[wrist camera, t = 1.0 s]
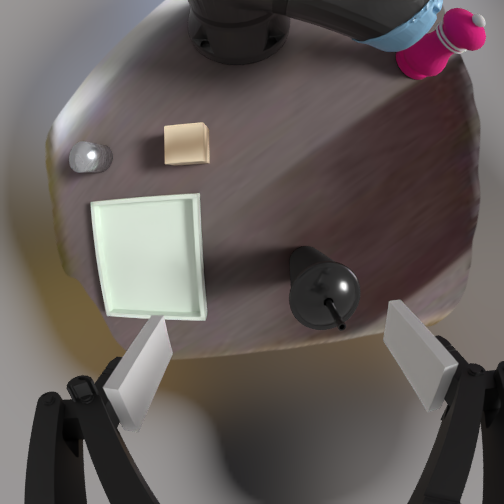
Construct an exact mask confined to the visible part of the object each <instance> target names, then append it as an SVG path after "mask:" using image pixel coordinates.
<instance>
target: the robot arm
mask: <svg viewBox="0 0 504 504" xmlns="http://www.w3.org/2000/svg"><path fill="white" fill-rule="evenodd" d="M188 2H189V4H190V7H191V9H190V13H189V18H188V33H189V36H190V38H191V40H192V42H193V44H194V46H195V47H196V48H197V50H198V51H199V52H200V53H202V54H203V55H204V56H206V57H207V58H209V59H211V60H214V61H216V62H220V63H224V64H232V65H241V64H249V63H254V62H257V61H260V60H263V59H265V58H267V57H269V56H271V55H272V54H274V53H275V52H276V51H278V50H279V49H280V48H281V46H282V45H283V44H284V42H285V41H286V39H287V36H288V33H289V28H290V18H294V19H297V20H301V21H304V22H308V23H311V24H314V25H317V26H320V27H323V28H326V29H329V30H332V31H335V32H337V33H340V34H343V35H345V36H348V37H350V38H352V40H354V41H356V42H358V43H364V44H368V45H370V46H373V47H375V48H377V49H380V50H382V51H386V52H399V51H402V50H405V49H407V48H409V47H411V46H412V45H414V44H415V43H416V42H418V41H419V40H420V39H421V38H422V37H423V36H424V35H425V34H426V33H427V32H428V31H429V30H430V28H431V27H432V26H433V24H434V23H435V21H436V19H437V17H436V14H437V13H438V12H439V11H440V10H441V7H442V4H443V0H188ZM383 341H384V342H385V344H386V346H387V347H388V349H389V350H390V352H391V353H392V355H393V356H394V358H395V360H396V361H397V363H398V364H399V366H400V368H401V369H402V371H403V372H404V374H405V376H406V377H407V379H408V381H409V382H410V384H411V385H412V387H413V389H414V390H415V392H416V394H417V395H418V397H419V399H420V400H421V402H422V404H423V406H424V407H425V409H426V410H427V412H431V411H434V410H437V409H440V408H441V406H442V403H443V401H444V399H445V401H446V402H447V404H448V405H447V407H446V409H445V411H444V414H443V415H442V418H441V420H442V422H441V426H440V428H439V432H438V434H437V438H436V440H435V443H434V445H433V448H432V451H431V453H430V456H429V458H428V461H427V463H426V466H425V468H424V470H423V473H422V475H421V478H420V479H419V482H418V484H417V486H416V488H415V490H414V492H413V494H412V496H411V498H410V500H409V502H408V504H460V499H461V496H462V493H463V490H464V488H465V484H466V481H467V478H468V475H469V471H470V468H471V464H472V460H473V456H474V452H475V448H476V443H477V438H478V433H479V428H480V423H481V431H482V444H483V472H484V473H483V501H482V504H504V361H502V362H500V363H499V364H498V367H497V369H496V370H492V371H485V369H484V368H483V367H482V366H480V365H478V364H472V363H470V364H468V363H467V361H466V360H465V359H464V358H463V357H462V356H461V355H460V354H459V352H458V351H456V350H455V348H454V347H453V346H451V344H450V343H449V342H448V341H447V340H446V339H445V338H443V337H441V336H434V335H433V334H432V333H431V332H430V331H429V330H428V329H427V327H426V326H425V325H424V324H423V323H422V322H421V321H420V320H419V319H418V318H417V317H416V316H415V315H414V314H413V313H412V311H411V310H410V309H409V308H408V307H407V306H406V305H405V304H404V303H403V302H402V301H401V300H394V301H389V305H388V313H387V320H386V326H385V333H384V339H383ZM172 354H173V353H172V349H171V345H170V341H169V337H168V333H167V328H166V324H165V319H164V315H151V317H150V318H149V320H148V321H147V323H146V324H145V325H144V327H143V328H142V330H141V331H140V333H139V334H138V336H137V337H136V338H135V340H134V341H133V343H132V344H131V346H130V347H129V349H128V350H127V352H126V353H125V355H124V356H123V357H116V358H115V359H113V360H112V361H110V362H109V364H108V365H107V367H106V369H105V370H104V371H103V372H102V374H101V375H100V377H99V378H98V380H97V381H96V382H95V384H94V382H93V380H92V378H91V377H89V376H84V375H82V376H77V377H75V378H73V379H72V380H70V381H69V382H68V384H67V390H68V392H69V394H70V396H71V398H72V399H70V400H62V398H61V397H60V395H59V394H58V393H56V392H47V393H45V394H43V395H42V396H41V397H40V398H39V399H38V402H37V406H36V411H35V416H34V421H33V426H32V432H31V438H30V445H29V452H28V460H27V469H26V482H25V504H87V499H86V490H85V479H84V478H85V477H84V460H83V439H85V442H86V444H87V448H88V450H89V453H90V456H91V459H92V462H93V464H94V467H95V469H96V472H97V474H98V477H99V479H100V481H101V484H102V486H103V488H104V491H105V493H106V495H107V497H108V499H109V502H110V504H160V503H159V502H158V500H157V499H156V497H155V496H154V494H153V492H152V491H151V490H150V488H149V486H148V484H147V483H146V481H145V479H144V478H143V476H142V474H141V473H140V471H139V469H138V467H137V466H136V464H135V462H134V460H133V458H132V456H131V455H130V453H129V451H128V449H127V447H126V445H125V443H124V441H123V439H122V437H121V435H120V433H119V431H118V429H117V427H118V425H119V423H121V425H122V427H123V429H124V430H128V431H133V432H139V430H140V427H141V425H142V423H143V420H144V418H145V416H146V413H147V411H148V409H149V406H150V404H151V402H152V399H153V397H154V395H155V393H156V390H157V388H158V386H159V383H160V381H161V379H162V377H163V374H164V372H165V370H166V367H167V365H168V363H169V361H170V359H171V356H172Z"/></svg>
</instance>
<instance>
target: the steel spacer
mask: <svg viewBox="0 0 504 504" xmlns="http://www.w3.org/2000/svg"><path fill="white" fill-rule="evenodd" d="M112 159H113V154H112V151H111V149H110V148H109V147H108V146H106V145H102V144H96V143H91V142H85V141H81V142H78V143H77V144H75V145H74V146H73V148H72V149H71V152H70V155H69V163H70V166H71V168H72V169H73V170H74V171H76V172H104V171H106V170H107V169H108V168H109V167H110V165H111V163H112Z"/></svg>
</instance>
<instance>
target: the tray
mask: <svg viewBox="0 0 504 504" xmlns="http://www.w3.org/2000/svg"><path fill="white" fill-rule="evenodd" d="M90 203H91V215H92V226H93V235H94V244H95V251H96V259H97V265H98V272H99V278H100V283H101V289H102V294H103V299H104V304H105V309H106V313H107V316H117V317H131V318H148V319H149V318H150V317H151V315H164V319H169V320H203V321H205V320H206V317H207V302H206V290H205V277H204V263H203V247H202V230H201V209H200V193H192V194H175V195H160V196H146V197H134V198H123V199H112V200H103V201H95V202H90Z"/></svg>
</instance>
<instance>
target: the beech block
mask: <svg viewBox="0 0 504 504" xmlns="http://www.w3.org/2000/svg"><path fill="white" fill-rule="evenodd" d="M164 141H165V164H169V165H175V166H176V165H189V164H204V163H209V129H208V128H207V127H206V125H205V124H204V123H203V122H201V123H190V124H180V125H171V126H164Z"/></svg>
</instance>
